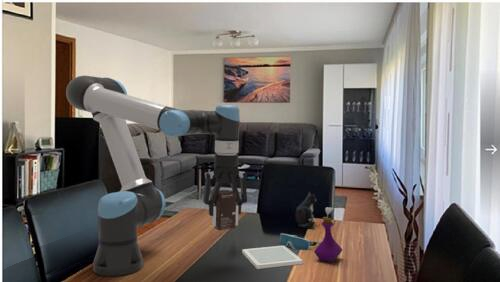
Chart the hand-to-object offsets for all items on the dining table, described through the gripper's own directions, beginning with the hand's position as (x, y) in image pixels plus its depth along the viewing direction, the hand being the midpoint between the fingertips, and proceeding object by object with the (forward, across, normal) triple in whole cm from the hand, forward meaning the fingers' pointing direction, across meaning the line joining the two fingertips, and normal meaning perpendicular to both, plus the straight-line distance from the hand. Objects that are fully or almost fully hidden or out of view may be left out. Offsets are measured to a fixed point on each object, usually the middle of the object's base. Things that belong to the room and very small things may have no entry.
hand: (224, 224), depth 135 cm
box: (+1, 0, 0) cm, 1 cm away
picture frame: (+13, +18, +2) cm, 22 cm away
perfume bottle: (+13, +36, -4) cm, 38 cm away
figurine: (+14, +47, +34) cm, 60 cm away
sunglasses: (+14, +34, +15) cm, 40 cm away
